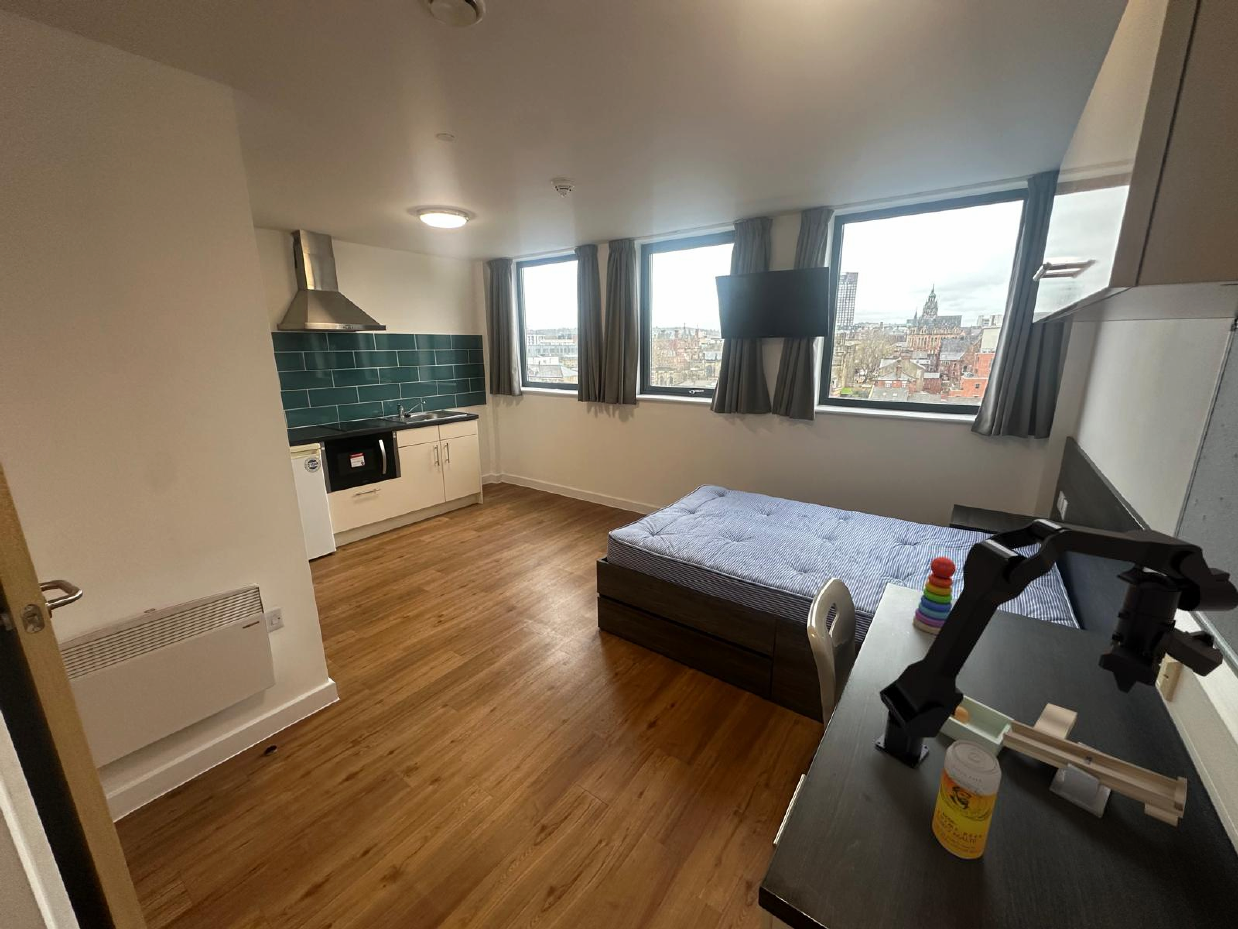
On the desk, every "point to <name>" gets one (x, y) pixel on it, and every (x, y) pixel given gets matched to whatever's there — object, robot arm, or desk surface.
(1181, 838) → the desk surface
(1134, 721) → the desk surface
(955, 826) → the beer can
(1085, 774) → the silver support block
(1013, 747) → the lever
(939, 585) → the stacking toy
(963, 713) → the ball
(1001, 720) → the tray
